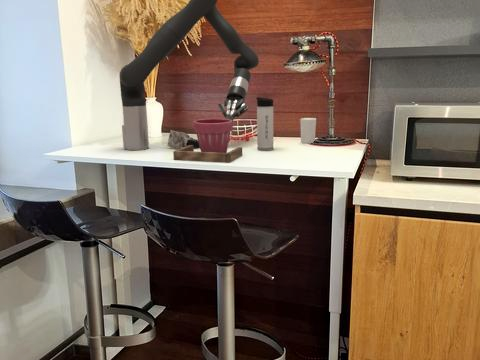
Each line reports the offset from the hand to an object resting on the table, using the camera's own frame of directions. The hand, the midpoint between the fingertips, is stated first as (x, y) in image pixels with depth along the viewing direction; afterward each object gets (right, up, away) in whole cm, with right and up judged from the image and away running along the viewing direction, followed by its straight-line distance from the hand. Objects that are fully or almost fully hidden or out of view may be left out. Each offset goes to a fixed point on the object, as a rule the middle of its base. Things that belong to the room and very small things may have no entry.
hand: (228, 124), depth 179 cm
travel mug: (+14, -10, -2) cm, 18 cm away
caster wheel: (-17, -9, +5) cm, 20 cm away
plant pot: (-5, -13, -12) cm, 18 cm away
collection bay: (-6, -14, -15) cm, 22 cm away
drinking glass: (+33, -7, +12) cm, 36 cm away
